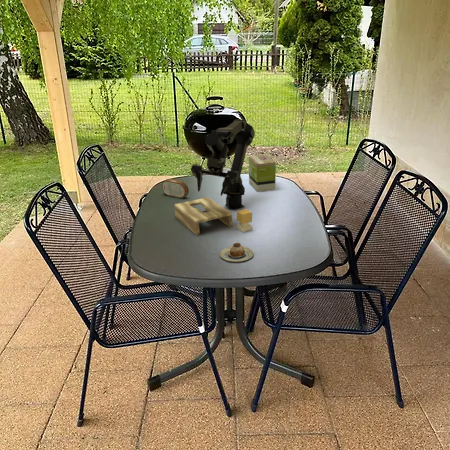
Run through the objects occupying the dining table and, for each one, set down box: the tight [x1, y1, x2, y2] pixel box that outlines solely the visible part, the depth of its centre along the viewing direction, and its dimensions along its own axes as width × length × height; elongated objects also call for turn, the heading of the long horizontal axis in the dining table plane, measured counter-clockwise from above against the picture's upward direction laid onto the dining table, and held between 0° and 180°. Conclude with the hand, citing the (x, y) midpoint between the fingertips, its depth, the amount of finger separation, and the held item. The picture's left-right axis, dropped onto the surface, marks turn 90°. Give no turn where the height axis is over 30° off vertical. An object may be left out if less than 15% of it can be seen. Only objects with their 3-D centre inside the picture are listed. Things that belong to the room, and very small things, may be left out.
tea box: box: [248, 154, 277, 193], centre depth 221 cm, size 15×10×15 cm
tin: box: [161, 178, 190, 199], centre depth 212 cm, size 15×3×8 cm, turn 58°
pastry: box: [219, 242, 255, 263], centre depth 154 cm, size 12×12×5 cm
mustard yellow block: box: [236, 208, 253, 233], centre depth 174 cm, size 4×4×8 cm
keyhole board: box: [174, 197, 233, 236], centre depth 182 cm, size 16×22×6 cm
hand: (209, 193), depth 171 cm, fingers open, 9 cm apart
